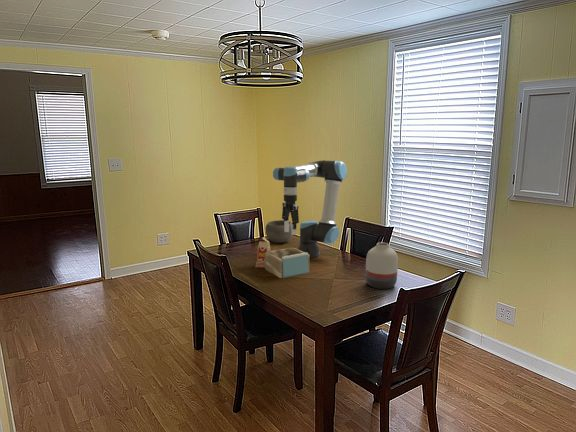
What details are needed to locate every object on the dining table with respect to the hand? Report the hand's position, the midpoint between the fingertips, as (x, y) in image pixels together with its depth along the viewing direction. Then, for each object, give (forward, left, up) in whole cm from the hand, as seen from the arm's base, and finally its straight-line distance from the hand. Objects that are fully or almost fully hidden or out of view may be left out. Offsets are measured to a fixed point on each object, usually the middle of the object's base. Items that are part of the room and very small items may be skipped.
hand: (290, 233), depth 248 cm
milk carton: (+7, -19, -25) cm, 33 cm away
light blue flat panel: (0, +6, -24) cm, 25 cm away
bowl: (-32, -66, -25) cm, 78 cm away
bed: (0, -3, -25) cm, 25 cm away
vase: (-33, +42, -25) cm, 59 cm away
